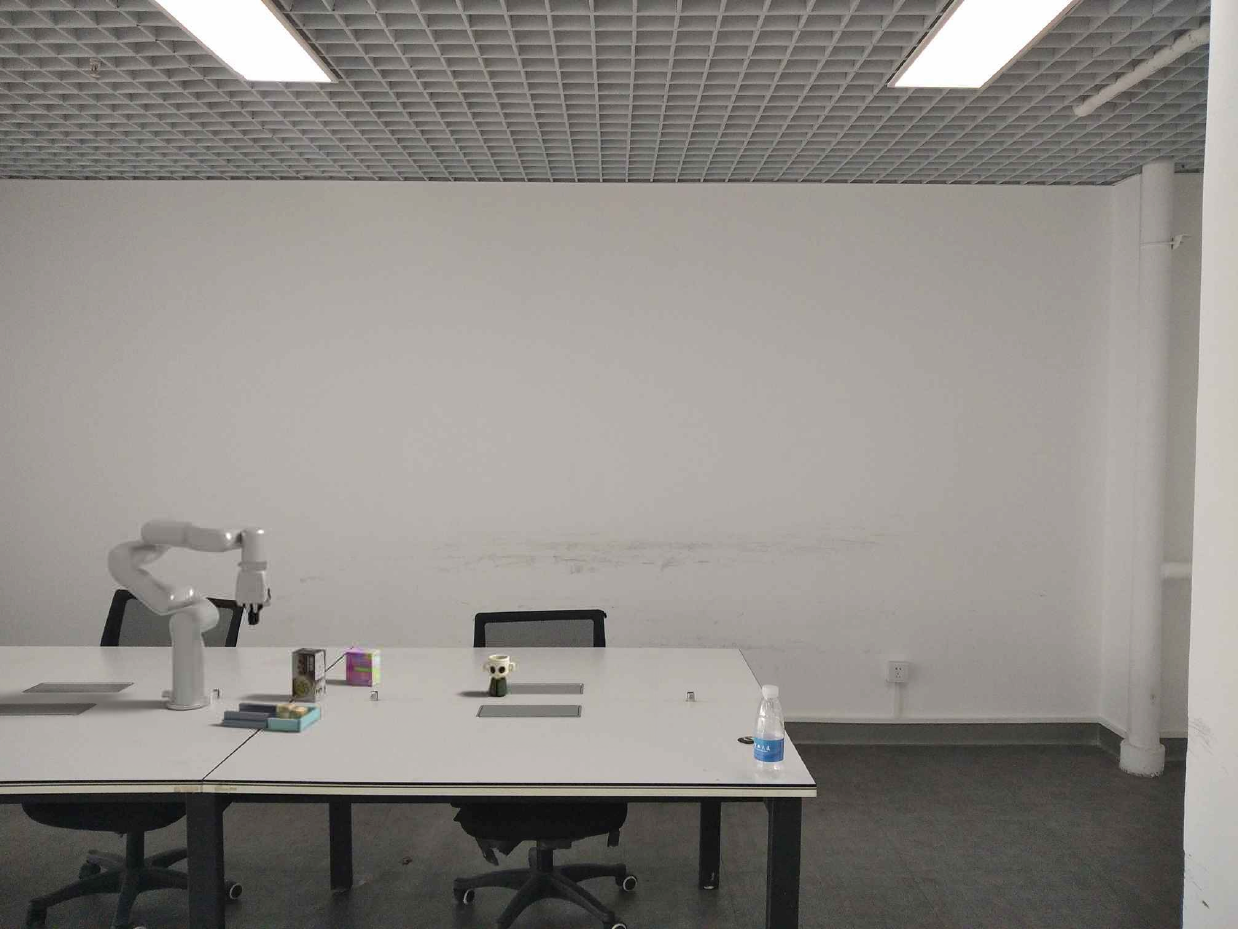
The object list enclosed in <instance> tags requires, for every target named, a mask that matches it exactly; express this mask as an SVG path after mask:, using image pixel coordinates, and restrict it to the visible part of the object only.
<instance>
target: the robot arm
mask: <svg viewBox="0 0 1238 929" xmlns="http://www.w3.org/2000/svg"><path fill="white" fill-rule="evenodd" d="M140 537H141V539H136V540H131V541H125V542H122V543H119V544H117V545H115V546H114V547H113V548H112V549H110V551H109V553H108V554H107V561H106V562H107V564H106V565H107V568H108V572H109V574H110V576H111V577H112V579H113V580H114V581H115V582H116V583H118V584H119V585H120V586H121V587H122V588H124V589H125V590H126V591H128V592H129V593H130V594H132V595H133V596H134V597H135V598H136V599H138V600H139V601H140V602H141V603H143V605H145V606H146V607H147V608H149V609H150V610H151V611H152V612H153V613H155V614H156V615H158V616H168V615H171V617H170V618H169V622H168V623H169V624H168V627H169V633H170V638H171V650H172V652H171V653H172V654H171V656H172V657H171V659H172V665H171V666H172V667H171V668H172V672H171V674H172V675H171V676H172V678H171V679H172V681H171V682H172V683H171V684H172V686H171V687H172V688H171V690H170V689H169V690H168V689H164V690H162V693H161V698H163V699H166V698H167V699H168V701H167V702H166V708H168V709H170V710H179V711H186V710H196V709H199V708H203V707H206V706H208V705H209V704H210V702H211V698H210V697H208V696H206V694H205V693H206V692H205V687H206V679H205V678H206V677H205V676H206V666H205V665H206V663H205V662H206V655H205V654H206V649H205V642H204V639H203V636H202V633H204V632H207V631H210V630H211V629H212V630H213V628H215V627H216V626H217V625H218V623H219V620H220V612H219V610H218V608H217V606H216V605H215V604H214V603H213V602H212V601H210V600H209V599H208V598H207V597H205V596H204V595H203V594H202V593H201V592H200V591H198V590H197V589H196V588H194V587H193V586H191V585H190V584H188V583H185V582H181V581H178V582H171V583H165V582H164V581H162V580H161V579H159V577H157V576H156V575H155V574H153V573H152V572H151V571H148V570H146V569H144V568H142V567H141V566H146V565H150V564H152V563H155V562H156V561H157V560H159V559H160V558H161V557H162V556H163V555H164V554H166V553H167V552H168V551H169V550H170V549H171V548H181V549H189V550H191V551H196V552H202V553H203V552H204V553H219V554H220V553H225V552H230V551H236V550H239V549H241V550H240V551H241V552H240V554H241V560H240V562H237V567H238V568H240V570H238V572H237V577H236V581H235V591H234V592H235V595H234V600H235V602H236V604H237V606H239V607H243V609H244V610H245V611H246V613H247V622H248V626H256V625H258V624H259V622H260V612H261V611H262V610H263V608H266V607H268V608H269V607H271V604H272V603H271V600H272V583H271V577H270V573H269V570H268V568H267V567H268V566H267V564H268V562H267V561H268V560H267V559H268V558H267V556H268V553H267V550H268V549H267V548H268V547H267V546H268V534H267V530H266V529H265V528H264V527H247V526H241V525H232V526H226V527H225V526H224V527H220V528H210V527H200V526H197V524H196V523H195V522H193V521H184V520H179V519H178V518H175V517H169V516H168V517H161V518H153V519H150V520H148V521H147V522H145V523H144V524H143V525H142V527H141V528H140Z"/></svg>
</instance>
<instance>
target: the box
mask: <svg viewBox="0 0 1238 929" xmlns="http://www.w3.org/2000/svg"><path fill="white" fill-rule="evenodd" d="M380 682H381V650H380V649H371V648H370V649H368V648H357V647H353V648H351V649H348V650H346V651H345V685H351V686H364V687H365V686H366V687H374V686H376V685H378V684H379V683H380Z"/></svg>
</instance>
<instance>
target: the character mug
mask: <svg viewBox="0 0 1238 929" xmlns="http://www.w3.org/2000/svg"><path fill="white" fill-rule="evenodd" d="M515 664H516V663H515V662H510V656H509V655H506V654H493V655H489V656H488V661H483V662H482V671H483V672H488V675H489V677H491V678H490V683H489V690H488V694H489V695H491V696H496V694H497V696H505V695H507V694H508V684H507V683H508V682H507V678H506V677H509V674H510V673H514V672H515V670H516V669H515V668H516V667H515ZM487 665H488V668H486V667H487ZM510 666H511V669H510Z"/></svg>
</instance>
